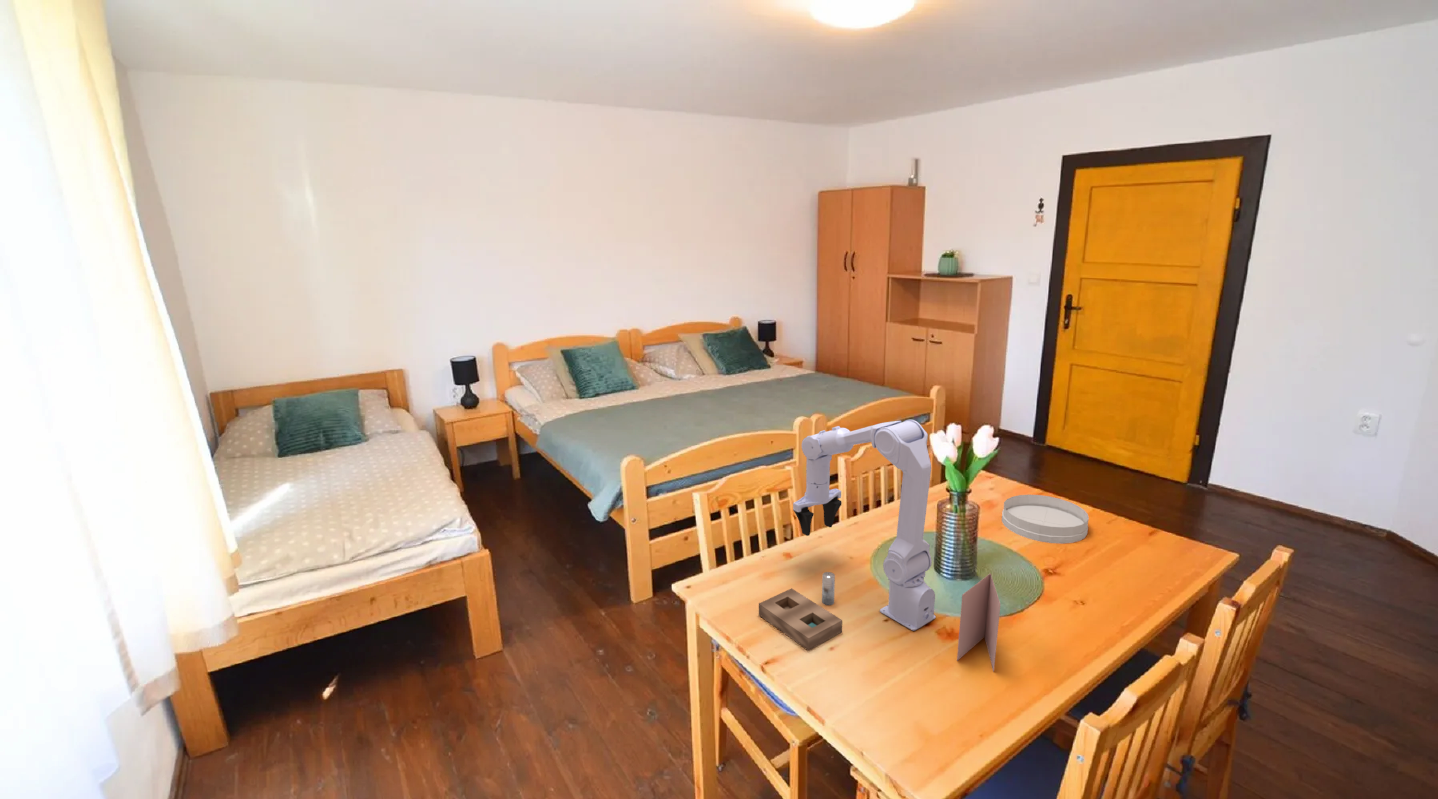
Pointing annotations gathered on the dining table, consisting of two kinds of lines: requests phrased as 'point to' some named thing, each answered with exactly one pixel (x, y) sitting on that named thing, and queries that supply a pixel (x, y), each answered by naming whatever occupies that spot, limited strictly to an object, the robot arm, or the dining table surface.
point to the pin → (828, 588)
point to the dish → (1045, 519)
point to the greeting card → (979, 618)
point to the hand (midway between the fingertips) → (817, 530)
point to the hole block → (800, 618)
